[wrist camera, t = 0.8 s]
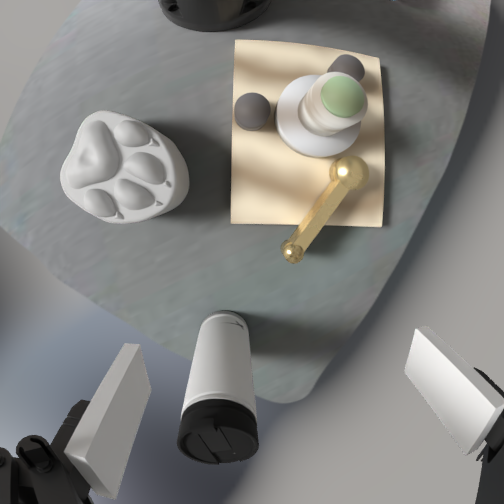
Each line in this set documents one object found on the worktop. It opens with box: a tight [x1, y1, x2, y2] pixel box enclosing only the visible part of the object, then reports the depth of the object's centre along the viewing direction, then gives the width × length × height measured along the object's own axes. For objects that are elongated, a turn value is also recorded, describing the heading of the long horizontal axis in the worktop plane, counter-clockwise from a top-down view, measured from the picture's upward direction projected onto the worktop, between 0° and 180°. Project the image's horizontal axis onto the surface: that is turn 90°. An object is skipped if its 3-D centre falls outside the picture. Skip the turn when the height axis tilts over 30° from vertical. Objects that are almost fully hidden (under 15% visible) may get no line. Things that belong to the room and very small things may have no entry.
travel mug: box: [177, 311, 259, 465], centre depth 27 cm, size 6×7×20 cm
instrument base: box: [231, 40, 385, 227], centre depth 26 cm, size 22×18×12 cm
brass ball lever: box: [281, 155, 369, 263], centre depth 30 cm, size 13×4×3 cm, turn 144°
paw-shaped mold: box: [60, 110, 189, 224], centre depth 28 cm, size 10×13×9 cm
